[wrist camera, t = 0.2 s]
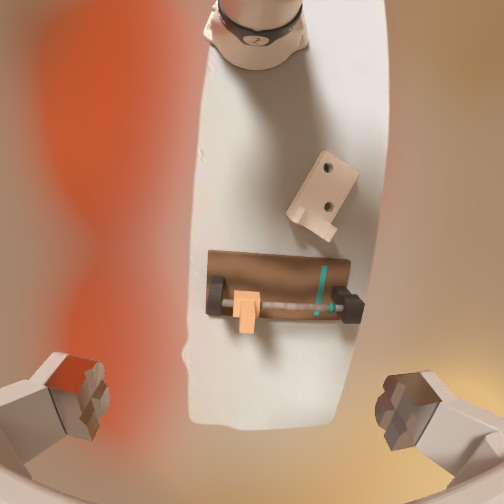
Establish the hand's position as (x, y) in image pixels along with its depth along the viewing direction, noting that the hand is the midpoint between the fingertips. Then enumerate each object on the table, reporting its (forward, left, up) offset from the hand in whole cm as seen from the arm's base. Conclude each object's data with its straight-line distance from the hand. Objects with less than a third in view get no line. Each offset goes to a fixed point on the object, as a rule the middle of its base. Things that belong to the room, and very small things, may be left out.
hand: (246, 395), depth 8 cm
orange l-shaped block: (+15, +2, -40) cm, 43 cm away
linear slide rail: (+15, +8, -47) cm, 50 cm away
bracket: (-3, +14, -48) cm, 50 cm away
